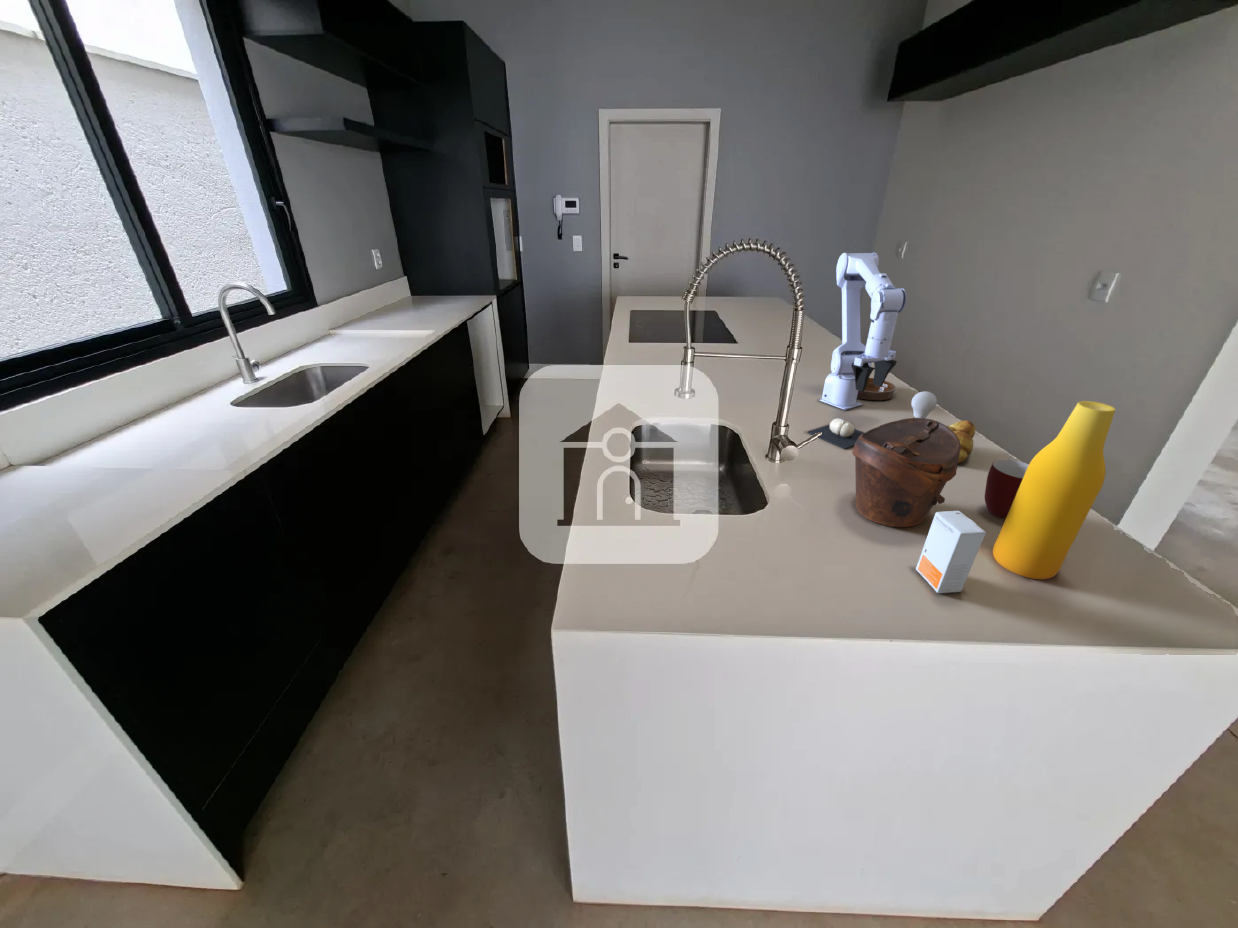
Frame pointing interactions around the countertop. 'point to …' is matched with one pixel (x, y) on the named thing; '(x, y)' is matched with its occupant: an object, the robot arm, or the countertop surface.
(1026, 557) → the beer bottle
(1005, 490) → the mug
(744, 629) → the countertop surface
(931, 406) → the light bulb
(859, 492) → the case
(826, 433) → the mat
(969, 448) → the bread roll
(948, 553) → the cosmetic box
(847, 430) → the white grooved oval
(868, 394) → the bowl
